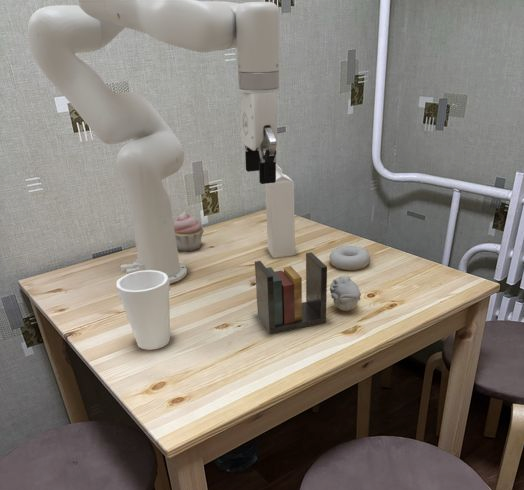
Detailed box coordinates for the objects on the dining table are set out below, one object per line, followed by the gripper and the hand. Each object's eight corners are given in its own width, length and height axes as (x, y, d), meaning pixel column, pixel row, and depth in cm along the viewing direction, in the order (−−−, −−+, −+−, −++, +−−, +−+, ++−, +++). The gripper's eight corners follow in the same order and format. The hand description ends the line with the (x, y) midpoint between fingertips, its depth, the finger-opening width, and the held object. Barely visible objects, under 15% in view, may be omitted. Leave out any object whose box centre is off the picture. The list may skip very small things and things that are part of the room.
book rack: (269, 334, 103) (267, 277, 97) (257, 316, 110) (254, 261, 103) (326, 322, 106) (327, 266, 99) (311, 305, 112) (311, 252, 106)
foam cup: (138, 328, 107) (126, 270, 100) (182, 329, 106) (173, 269, 99) (122, 354, 99) (108, 292, 92) (170, 354, 98) (159, 292, 91)
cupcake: (201, 254, 140) (196, 217, 135) (167, 253, 142) (162, 217, 136) (209, 241, 148) (206, 206, 142) (178, 240, 149) (173, 206, 144)
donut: (327, 272, 127) (369, 272, 125) (327, 258, 125) (370, 259, 123) (331, 256, 135) (370, 256, 133) (331, 243, 133) (371, 243, 131)
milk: (289, 247, 141) (287, 162, 130) (295, 255, 136) (294, 168, 125) (267, 250, 140) (263, 164, 129) (272, 258, 135) (269, 170, 124)
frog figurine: (344, 298, 114) (346, 269, 111) (367, 310, 109) (369, 280, 106) (323, 307, 112) (323, 276, 108) (344, 319, 107) (346, 288, 103)
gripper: (227, 78, 103) (231, 168, 112) (252, 88, 89) (254, 190, 98) (264, 76, 105) (265, 165, 114) (293, 86, 91) (292, 186, 100)
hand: (260, 176), depth 106 cm, fingers open, 9 cm apart
